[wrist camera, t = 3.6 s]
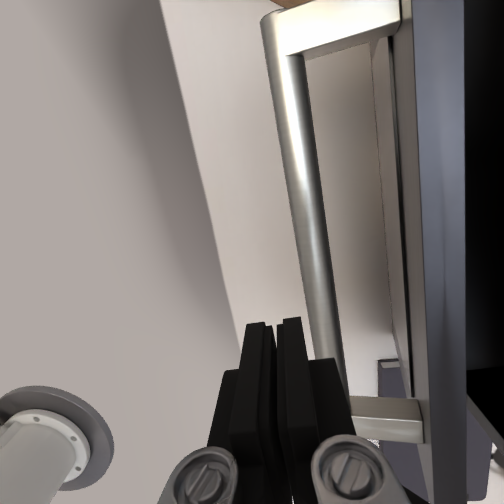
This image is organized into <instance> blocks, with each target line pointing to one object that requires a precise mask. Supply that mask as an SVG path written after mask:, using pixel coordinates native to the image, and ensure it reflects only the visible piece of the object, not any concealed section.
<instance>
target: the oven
mask: <svg viewBox="0 0 504 504" xmlns="http://www.w3.org/2000/svg"><path fill="white" fill-rule="evenodd" d="M465 184H466V407H467V409H468V410H469V411H470V413H471V414H472V415H473V417H474V418H475V419H476V421H477V422H478V423H479V424H480V426H481V427H482V428H483V430H484V431H485V432H486V434H487V435H488V436H489V438H490V439H491V440H492V442H493V443H494V444H495V446H496V447H497V448H498V449H499V451H500V452H501V453H502V455H503V456H504V0H465Z"/></svg>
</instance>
